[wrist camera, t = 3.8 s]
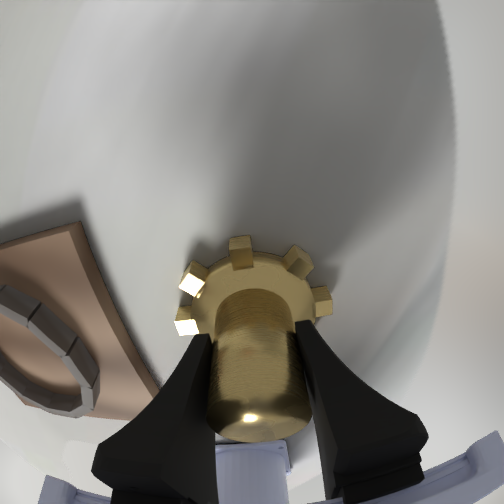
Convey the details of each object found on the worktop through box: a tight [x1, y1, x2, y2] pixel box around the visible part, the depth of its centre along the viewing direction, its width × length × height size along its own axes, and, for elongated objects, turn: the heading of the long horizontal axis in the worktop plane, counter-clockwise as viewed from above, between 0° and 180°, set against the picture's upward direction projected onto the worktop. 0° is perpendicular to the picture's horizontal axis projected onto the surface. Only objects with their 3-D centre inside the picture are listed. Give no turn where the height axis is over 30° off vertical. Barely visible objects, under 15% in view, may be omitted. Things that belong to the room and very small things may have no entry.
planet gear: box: [175, 235, 332, 443], centre depth 12 cm, size 8×8×7 cm
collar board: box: [0, 221, 160, 421], centre depth 15 cm, size 15×16×3 cm
